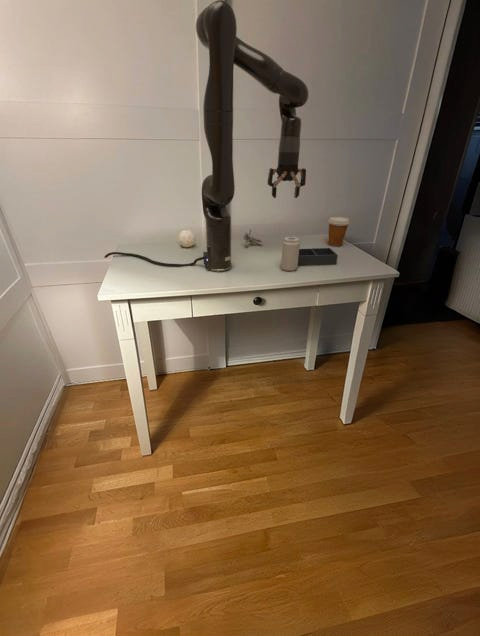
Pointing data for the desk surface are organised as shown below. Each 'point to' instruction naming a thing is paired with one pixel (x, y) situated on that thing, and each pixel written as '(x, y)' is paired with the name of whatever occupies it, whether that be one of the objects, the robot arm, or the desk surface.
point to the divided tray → (317, 257)
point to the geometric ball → (187, 238)
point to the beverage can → (290, 253)
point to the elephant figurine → (251, 239)
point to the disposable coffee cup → (337, 230)
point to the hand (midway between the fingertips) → (285, 197)
